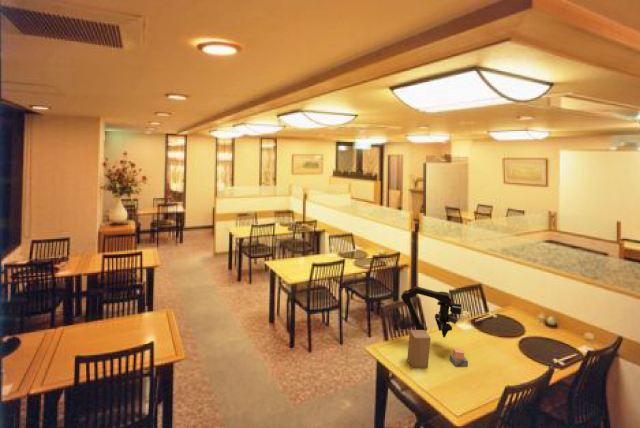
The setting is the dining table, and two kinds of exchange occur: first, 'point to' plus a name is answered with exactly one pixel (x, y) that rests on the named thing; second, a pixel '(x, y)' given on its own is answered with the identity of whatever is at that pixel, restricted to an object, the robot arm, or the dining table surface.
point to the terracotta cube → (458, 354)
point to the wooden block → (418, 348)
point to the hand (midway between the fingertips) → (441, 333)
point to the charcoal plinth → (458, 362)
